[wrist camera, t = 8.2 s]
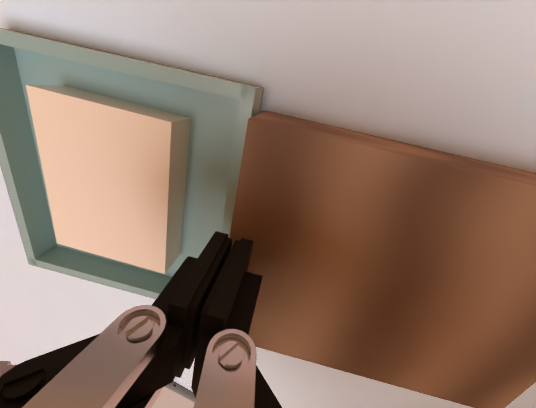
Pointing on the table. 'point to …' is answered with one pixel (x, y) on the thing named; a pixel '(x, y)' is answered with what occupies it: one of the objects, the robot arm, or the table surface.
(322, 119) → the table surface
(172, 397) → the smartphone
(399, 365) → the brown wooden block
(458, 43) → the table surface
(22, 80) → the tray
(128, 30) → the table surface
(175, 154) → the tile
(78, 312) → the table surface
